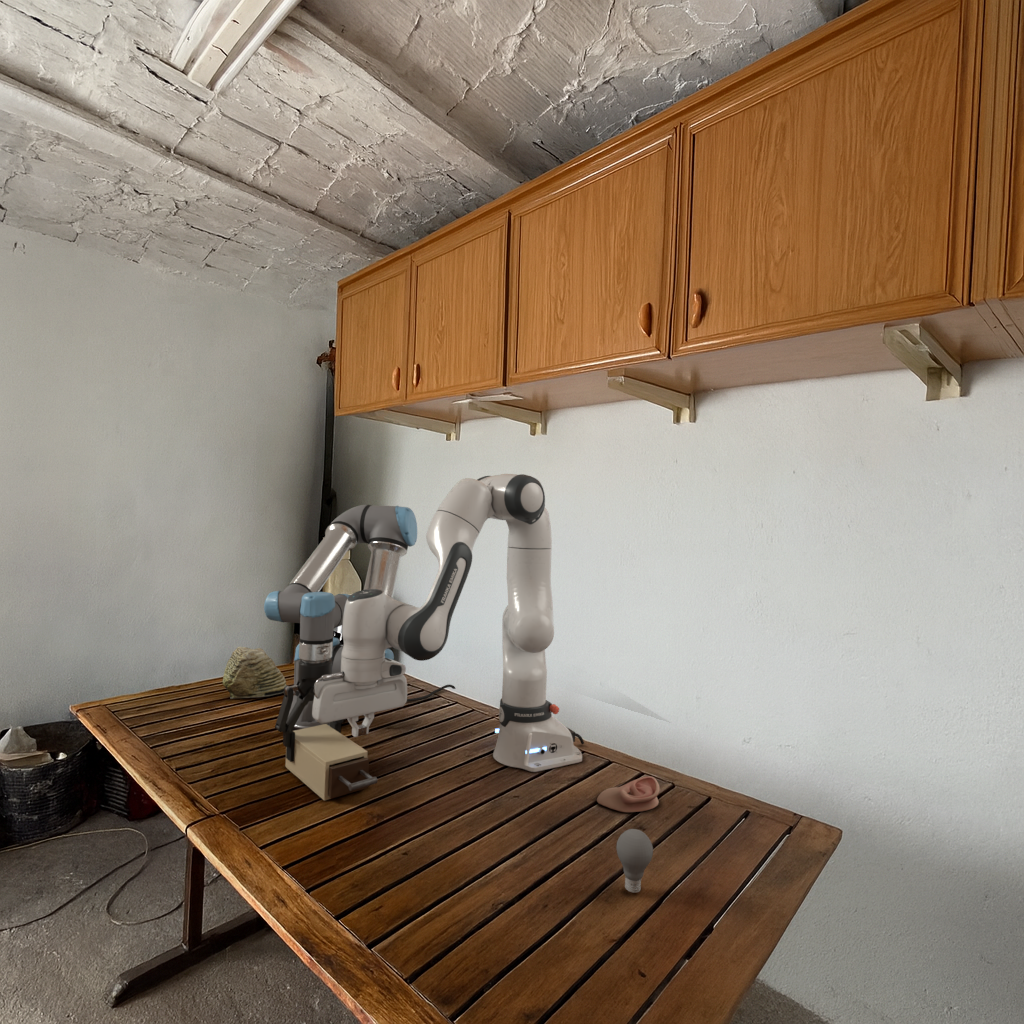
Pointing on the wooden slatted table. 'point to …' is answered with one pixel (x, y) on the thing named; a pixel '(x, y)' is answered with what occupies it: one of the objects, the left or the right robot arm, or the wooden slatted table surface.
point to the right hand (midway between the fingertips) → (360, 735)
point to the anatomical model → (632, 795)
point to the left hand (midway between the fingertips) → (311, 754)
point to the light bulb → (634, 857)
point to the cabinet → (320, 756)
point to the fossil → (252, 674)
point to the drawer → (349, 777)
